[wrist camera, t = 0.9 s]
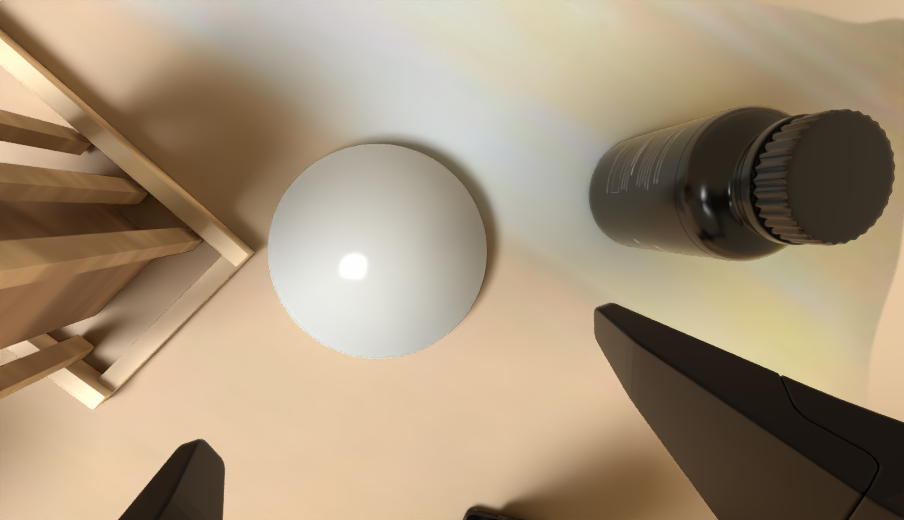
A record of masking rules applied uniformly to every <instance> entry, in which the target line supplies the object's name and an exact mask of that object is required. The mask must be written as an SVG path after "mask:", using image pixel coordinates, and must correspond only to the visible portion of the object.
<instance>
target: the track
mask: <svg viewBox="0 0 904 520" xmlns="http://www.w3.org/2000/svg"><path fill="white" fill-rule="evenodd" d="M0 64H1V65H2V66H3V67H4V68H5V69H6V70H8V71H9V72H10V73H11V74H12V75H13V76H14V77H16V78H17V79H18V80H19V81H20V82H21V83H23V84H24V85H25V86H26V87H27V88H28V89H30V90H31V91H32V92H33V93H34V94H35V95H37V96H38V97H39V98H40V99H41V100H42V101H44V102H45V103H46V104H47V105H48V106H49V107H51V108H52V109H53V110H54V111H55V112H56V113H58V114H59V115H60V116H61V117H62V118H63V119H65V120H66V121H67V122H68V123H69V124H70V125H72V126H73V127H74V128H75V129H76V130H77V131H79V132H80V133H81V134H82V135H83V136H84V137H85V138H87V139H88V140H89V141H90V142H91V143H92V144H94V145H95V146H96V147H97V148H98V149H99V150H101V151H102V152H103V153H104V154H105V155H106V156H108V157H109V158H110V159H111V160H112V161H113V162H115V163H116V164H117V165H118V166H119V167H120V168H122V169H123V170H124V171H125V172H126V173H127V174H129V175H130V176H131V177H132V178H133V179H134V180H136V181H137V182H138V183H139V184H140V185H141V186H143V187H144V188H145V189H146V190H147V191H148V192H149V193H151V194H152V195H153V196H154V197H155V198H156V199H158V200H159V201H160V202H161V203H162V204H163V205H165V206H166V207H167V208H168V209H169V210H170V211H172V212H173V213H174V214H175V215H176V216H177V217H179V218H180V219H181V220H182V221H183V222H184V223H186V224H187V225H188V226H189V227H190V228H191V229H193V230H194V231H195V232H196V233H197V234H198V235H200V236H201V237H202V238H203V239H204V240H205V241H207V242H208V243H209V244H210V245H211V246H212V247H213V248H215V249H216V250H217V251H218V252H219V253H220V254H222V256H221V257H220V258H219V259H218V260H217V261H216V262H215V263H214V264H213V265H212V266H211V267H210V268H209V269H208V270H207V271H206V272H205V273H204V274H203V275H202V276H201V277H200V278H199V279H198V280H197V281H196V282H195V283H194V284H193V285H192V286H191V287H190V288H189V289H188V290H187V291H186V292H185V293H184V294H183V295H182V296H181V297H180V298H179V299H178V300H177V301H176V302H175V303H174V304H173V305H172V306H171V307H170V308H169V309H168V310H167V311H166V312H165V313H164V314H163V315H162V316H161V317H160V318H159V319H158V320H157V321H156V322H155V323H154V324H153V325H152V326H151V327H150V328H149V329H148V330H147V331H146V332H145V333H144V334H143V335H142V336H141V337H140V338H139V339H138V340H137V341H136V342H135V343H134V344H133V345H132V346H131V347H130V348H129V349H128V350H127V351H126V352H125V353H124V354H123V355H122V356H121V357H120V358H119V359H118V360H117V361H116V362H115V363H114V364H113V365H112V366H111V367H110V368H109V369H108V370H107V371H106V372H105V373H104V374H103V375H102V374H101V373H99V372H98V371H97V370H95V369H94V368H93V367H91V366H90V365H89V364H87V363H86V362H84V361H83V360H82V359H81V360H79V361H77V362H75V363H73V364H71V365H69V366H66V367H64V368H62V369H60V370H58V371H56V372H54V373H52V374H50V375H48V376H46V377H47V378H49V379H50V380H52V381H53V382H54V383H56V384H57V385H59V386H60V387H61V388H63V389H64V390H66V391H67V392H68V393H70V394H71V395H73V396H74V397H75V398H77V399H78V400H80V401H81V402H82V403H84V404H85V405H87V406H88V407H89V408H91V409H92V410H93V409H95V408H96V407H98V406H99V405H101V404H102V403H103V402H105V401H106V400H108V399H109V398H110V397H111V396H112V395H113V394H114V393H115V392H116V391H117V390H118V389H119V388H120V387H121V386H122V385H123V384H124V383H125V382H126V381H127V380H128V379H129V378H130V377H131V376H132V375H133V374H134V373H135V372H136V371H137V370H138V369H139V368H140V367H141V366H142V365H143V364H144V363H145V362H146V361H147V360H148V359H149V358H150V357H151V356H152V355H153V354H154V353H155V352H156V351H157V350H158V349H159V348H160V347H161V346H162V345H163V344H164V343H165V342H166V341H167V340H168V339H169V338H170V337H171V336H172V335H173V334H174V333H175V332H176V331H177V330H178V329H179V328H180V327H181V326H182V325H183V324H184V323H185V322H186V321H187V320H188V319H189V318H190V317H191V316H192V315H193V314H194V313H195V312H196V311H197V310H198V309H199V308H200V307H201V306H202V305H203V304H204V303H205V302H206V301H207V300H208V299H209V298H210V297H211V296H212V295H213V294H214V293H215V292H216V291H217V290H218V289H219V288H220V287H221V286H222V285H223V284H224V283H225V282H226V281H227V280H228V279H229V278H230V277H231V276H232V275H233V274H234V273H235V272H236V271H237V270H238V269H239V268H240V267H241V266H242V265H243V264H244V263H245V262H246V261H247V260H248V259H249V258H250V257H251V256H252V255H253V254H254V253H255V252H254V251H253V250H252V249H251V248H250V247H248V246H247V245H246V244H245V243H244V242H243V241H242V240H241V239H239V238H238V237H237V236H236V235H235V234H234V233H233V232H231V231H230V230H229V229H228V228H227V227H226V226H225V225H223V224H222V223H221V222H220V221H219V220H218V219H217V218H215V217H214V216H213V215H212V214H211V213H210V212H209V211H207V210H206V209H205V208H204V207H203V206H202V205H201V204H200V203H198V202H197V201H196V200H195V199H194V198H193V197H192V196H190V195H189V194H188V193H187V192H186V191H185V190H184V189H182V188H181V187H180V186H179V185H178V184H177V183H176V182H174V181H173V180H172V179H171V178H170V177H169V176H168V175H166V174H165V173H164V172H163V171H162V170H161V169H160V168H159V167H157V166H156V165H155V164H154V163H153V162H152V161H151V160H149V159H148V158H147V157H146V156H145V155H144V154H143V153H141V152H140V151H139V150H138V149H137V148H136V147H135V146H133V145H132V144H131V143H130V142H129V141H128V140H127V139H125V138H124V137H123V136H122V135H121V134H120V133H119V132H118V131H116V130H115V129H114V128H113V127H112V126H111V125H110V124H108V123H107V122H106V121H105V120H104V119H103V118H102V117H100V116H99V115H98V114H97V113H96V112H95V111H94V110H92V109H91V108H90V107H89V106H88V105H87V104H86V103H84V102H83V101H82V100H81V99H80V98H79V97H78V96H77V95H75V94H74V93H73V92H72V91H71V90H70V89H69V88H67V87H66V86H65V85H64V84H63V83H62V82H61V81H59V80H58V79H57V78H56V77H55V76H54V75H53V74H51V73H50V72H49V71H48V70H47V69H46V68H45V67H43V66H42V65H41V64H40V63H39V62H38V61H37V60H36V59H34V58H33V57H32V56H31V55H30V54H29V53H28V52H26V51H25V50H24V49H23V48H22V47H21V46H20V45H18V44H17V43H16V42H15V41H14V40H13V39H12V38H10V37H9V36H8V35H7V34H6V33H5V32H4V31H2V30H1V29H0ZM57 343H59V342H57V341H56V340H55V339H53V338H52V337H50V336H49V335H48V334H46V333H45V334H42V335H40V336H37V337H34V338H31V339H28V340H26V341H23V342H20V343H17V344H14V345H12V346H9V347H6V348H7V349H8V350H9V351H11V352H12V353H14V354H15V355H16V356H18V357H19V358H22V357H24V356H27V355H29V354H32V353H34V352H37V351H39V350H42V349H44V348H47V347H49V346H52V345H54V344H57Z"/></svg>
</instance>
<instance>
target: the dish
mask: <svg viewBox="0 0 904 520" xmlns="http://www.w3.org/2000/svg"><path fill="white" fill-rule="evenodd" d="M486 262H487V243H486V234H485V230H484V225H483V221H482V218H481V216H480V213H479V210H478V208H477V206H476V204H475V202H474V200H473V198H472V196H471V195H470V194H469V192H468V191H467V189H466V188H465V186H464V185H463V184H462V183H461V182H460V181H459V179H458V178H457V177H456V176H455V175H454V174H453V173H452V172H450V171H449V170H448V169H447V168H446V167H444V166H443V165H442V164H440V163H439V162H437V161H436V160H434V159H432V158H431V157H429V156H427V155H424V154H422V153H420V152H418V151H415V150H412V149H409V148H406V147H402V146H396V145H391V144H364V145H357V146H352V147H348V148H344V149H341V150H339V151H336V152H333V153H331V154H329V155H327V156H325V157H323V158H321V159H319V160H318V161H316V162H315V163H314V164H312V165H311V166H309V167H308V168H307V169H305V170H304V171H303V172H302V173H301V174H300V175H299V176H298V177H297V178H296V179H295V180H294V181H293V183H292V184H291V185H290V186H289V188H288V189H287V190H286V192H285V193H284V195H283V197H282V199H281V200H280V202H279V204H278V206H277V209H276V211H275V213H274V216H273V219H272V223H271V226H270V230H269V238H268V264H269V270H270V276H271V279H272V282H273V286H274V289H275V291H276V293H277V295H278V297H279V300H280V302H281V303H282V305H283V306H284V308H285V310H286V311H287V313H288V314H289V315H290V317H291V318H292V319H293V320H294V321H295V322H296V324H297V325H298V326H299V327H300V328H301V329H303V330H304V331H305V332H306V333H307V334H308V335H309V336H311V337H312V338H314V339H315V340H317V341H318V342H320V343H321V344H323V345H325V346H327V347H329V348H331V349H333V350H336V351H338V352H341V353H344V354H347V355H351V356H356V357H360V358H371V359H384V358H394V357H400V356H404V355H408V354H411V353H415V352H417V351H420V350H422V349H424V348H427V347H429V346H430V345H432V344H434V343H435V342H437V341H439V340H440V339H442V338H443V337H444V336H446V335H447V334H448V333H449V332H451V331H452V330H453V329H454V328H455V327H456V326H457V325H458V324H459V323H460V322H461V320H462V319H463V318H464V317H465V315H466V314H467V313H468V311H469V310H470V308H471V306H472V305H473V303H474V301H475V300H476V297H477V295H478V293H479V291H480V288H481V285H482V282H483V278H484V275H485V268H486Z"/></svg>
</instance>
